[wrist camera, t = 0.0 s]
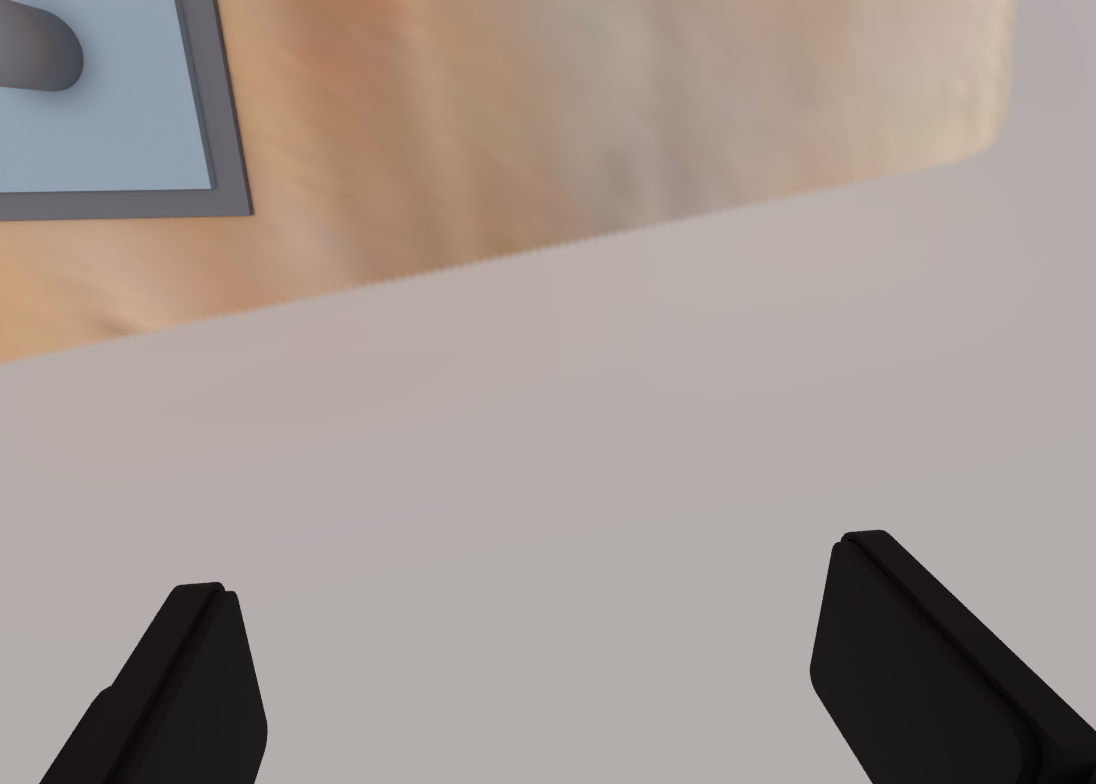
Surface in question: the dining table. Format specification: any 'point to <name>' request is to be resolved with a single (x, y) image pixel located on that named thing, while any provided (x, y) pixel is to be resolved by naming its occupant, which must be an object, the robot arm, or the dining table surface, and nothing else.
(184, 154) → the lid
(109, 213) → the mat
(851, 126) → the dining table surface
